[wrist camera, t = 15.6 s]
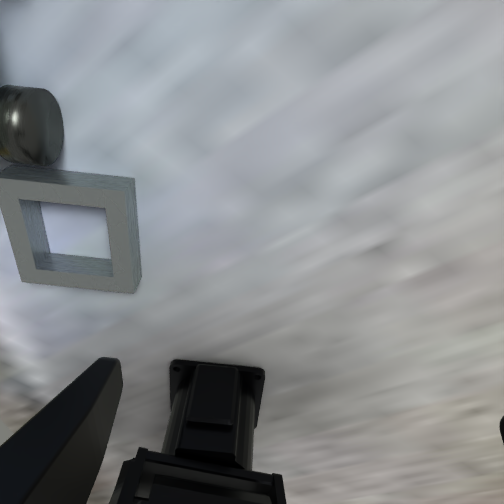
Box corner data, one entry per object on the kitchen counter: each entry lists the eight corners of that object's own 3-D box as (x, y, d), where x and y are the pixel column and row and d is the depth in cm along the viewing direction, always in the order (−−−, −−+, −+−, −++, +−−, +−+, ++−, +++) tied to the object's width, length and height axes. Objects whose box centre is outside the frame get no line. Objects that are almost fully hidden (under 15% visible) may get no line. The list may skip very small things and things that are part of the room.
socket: (141, 276, 23) (133, 293, 22) (36, 265, 23) (21, 282, 22) (134, 178, 20) (124, 191, 18) (11, 165, 20) (-8, 177, 18)
